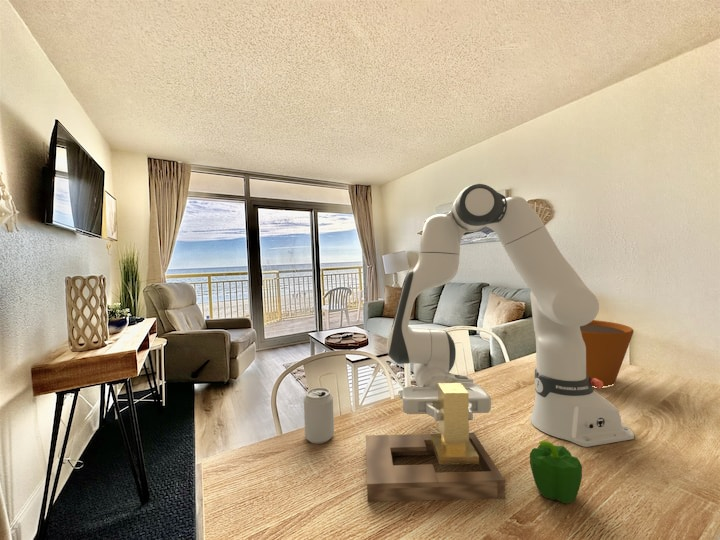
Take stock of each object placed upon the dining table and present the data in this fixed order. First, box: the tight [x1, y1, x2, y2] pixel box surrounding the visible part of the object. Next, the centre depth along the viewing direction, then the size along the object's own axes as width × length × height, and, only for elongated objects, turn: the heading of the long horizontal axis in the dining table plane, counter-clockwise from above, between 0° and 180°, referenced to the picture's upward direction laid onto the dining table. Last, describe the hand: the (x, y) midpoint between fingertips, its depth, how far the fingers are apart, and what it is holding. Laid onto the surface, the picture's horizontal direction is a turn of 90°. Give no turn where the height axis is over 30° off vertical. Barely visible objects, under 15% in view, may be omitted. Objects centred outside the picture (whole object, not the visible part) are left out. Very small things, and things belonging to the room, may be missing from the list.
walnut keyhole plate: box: [365, 432, 506, 503], centre depth 66 cm, size 26×16×4 cm, turn 90°
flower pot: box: [580, 319, 634, 386], centre depth 111 cm, size 24×24×20 cm
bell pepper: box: [529, 440, 583, 505], centre depth 59 cm, size 8×8×10 cm
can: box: [303, 387, 335, 445], centre depth 80 cm, size 8×8×12 cm
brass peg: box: [430, 383, 479, 465], centre depth 66 cm, size 8×8×14 cm
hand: (454, 417), depth 65 cm, fingers closed on brass peg, 5 cm apart
